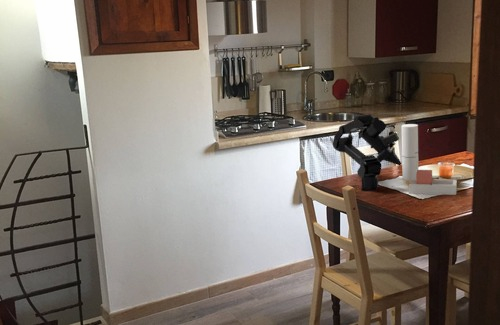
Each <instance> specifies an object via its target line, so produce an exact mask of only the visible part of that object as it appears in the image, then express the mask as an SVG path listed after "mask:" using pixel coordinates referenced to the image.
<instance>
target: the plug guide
mask: <svg viewBox="0 0 500 325" xmlns="http://www.w3.org/2000/svg"><path fill="white" fill-rule="evenodd" d="M457 184H458V182H457V179H443V178H440V179H437V178H436V179H435V178H432V184H416V179H411V180H410V183H408V194H412V195H413V194H416V195H417V194H418V195H445V196H446V195H447V196H449V195H451V196H455V195H457V187H458V186H457Z"/></svg>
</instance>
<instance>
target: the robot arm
mask: <svg viewBox="0 0 500 325" xmlns="http://www.w3.org/2000/svg"><path fill="white" fill-rule="evenodd" d="M386 126H387V125H386V123H385V122H384V121H383V120H382V119H380V118H379V116H375V117H374V116H372V115H371V113H367V114H359V115H356V116H355V117H354V118H353V120H352V121H350V122H347V123H345V124H341V125H339V128H338V131H337V132H336V133H335V134H334V137H333V142H332V146H333V148H334V149H335V151H337V152H339V153H345V154H346V155H347V156H349V158H351V159H352V160H353V161H354V162H356V163H357V164H358V165H359V168H358V169H357V170H356V173H357V176H358V177H360V178H361V188H360V191H371V192H372V191H376V190H378V188H379V177H378V176H380V175H381V171H382V162H383V161H385V162H387V163H392V164H395V165H397V166H402V161H401V159H400V158H399V157H398V156H397V153H396V152H395V151H396V147H395V145H396V144H397V143H396V142H398V141H399V140H400V137H399V135H398V133H397V132H396V131H394V130H390V131H388V134H387V136H384V135H380V134H382V133H383V132H384V131H385V130H386ZM358 129H363V130H359V132H358V133H357V135H358V139H361V138H362V139H363V140H364V141H365V142H366V143H367V144H368V145H369V146H370V149H373V150H374V151H375V152H377V153H376V154H377V156H375V155H373V154H369V155H365V153H363V152H362V151H361V150H360V149H358V148H357V147H356V146H354V145H353V140H354V137H353V135H352V132H354V131H355V130H358ZM344 134H348V136H343V135H344ZM342 136H343V137H342Z"/></svg>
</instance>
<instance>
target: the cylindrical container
mask: <svg viewBox="0 0 500 325" xmlns="http://www.w3.org/2000/svg"><path fill="white" fill-rule="evenodd" d="M400 126H401V159H402V160H401V163H402V164H401V166H402V167H401V168H402V170H401V171H402V180H404V181H411V179H416V173H417V170H419V124H416V123H407V124H406V123H405V124H402V125H400Z"/></svg>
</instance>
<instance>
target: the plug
mask: <svg viewBox="0 0 500 325" xmlns="http://www.w3.org/2000/svg"><path fill="white" fill-rule="evenodd" d="M432 179H433V169H418V170H417V173H416V184H432Z"/></svg>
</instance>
